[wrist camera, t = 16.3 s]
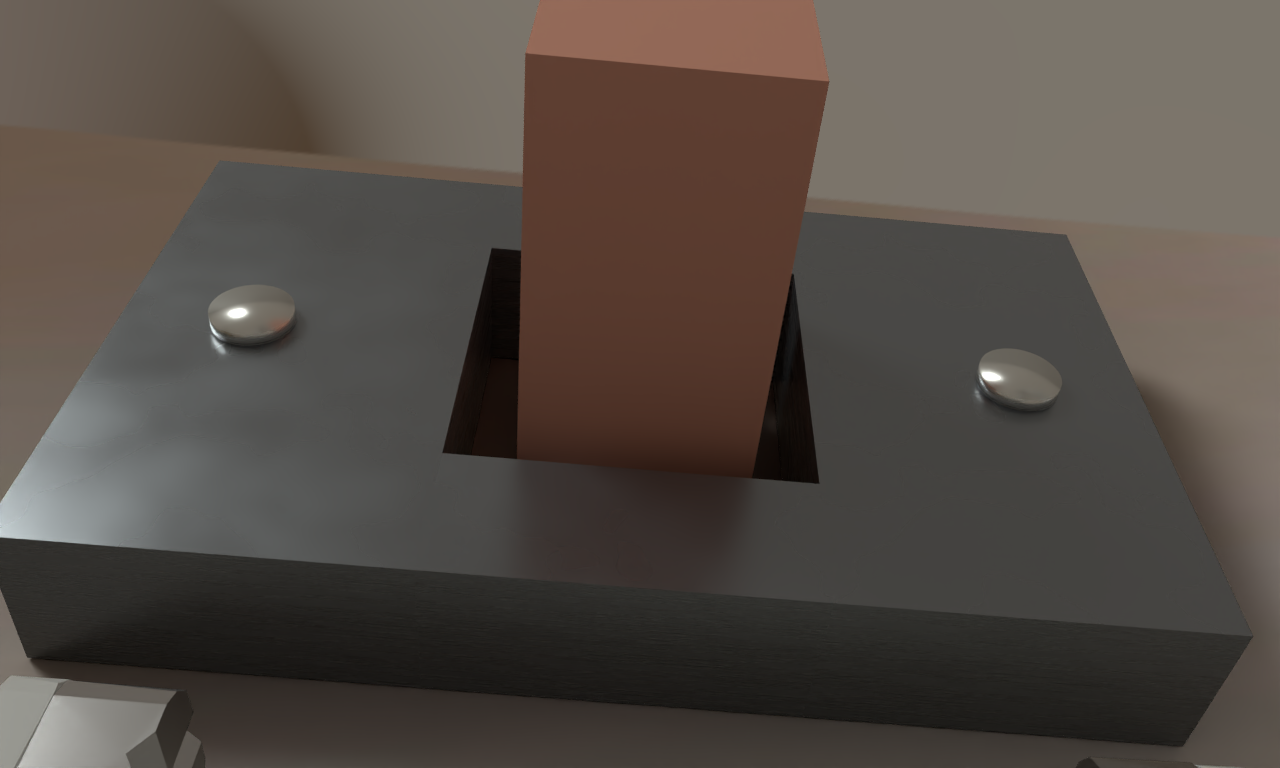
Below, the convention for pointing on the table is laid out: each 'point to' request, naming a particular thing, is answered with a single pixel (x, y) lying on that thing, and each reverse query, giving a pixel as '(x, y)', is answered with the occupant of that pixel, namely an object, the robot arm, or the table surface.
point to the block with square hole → (619, 485)
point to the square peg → (661, 225)
